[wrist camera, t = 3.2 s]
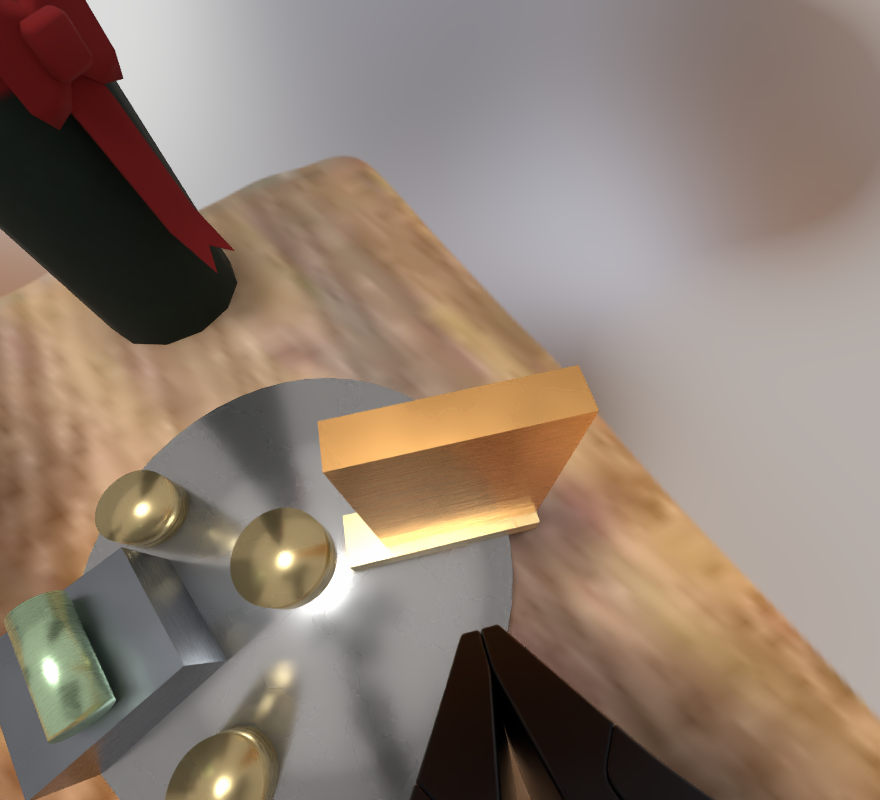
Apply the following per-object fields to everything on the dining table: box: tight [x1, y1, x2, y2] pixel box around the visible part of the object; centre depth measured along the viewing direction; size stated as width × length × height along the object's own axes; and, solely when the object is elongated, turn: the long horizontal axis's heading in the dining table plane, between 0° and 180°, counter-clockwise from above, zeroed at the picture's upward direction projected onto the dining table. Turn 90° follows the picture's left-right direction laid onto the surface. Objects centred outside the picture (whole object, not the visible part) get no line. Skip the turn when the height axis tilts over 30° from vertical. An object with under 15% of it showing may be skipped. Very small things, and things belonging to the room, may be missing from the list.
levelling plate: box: [0, 378, 513, 800], centre depth 17 cm, size 18×18×6 cm
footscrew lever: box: [230, 365, 599, 610], centre depth 14 cm, size 12×4×10 cm, turn 103°
